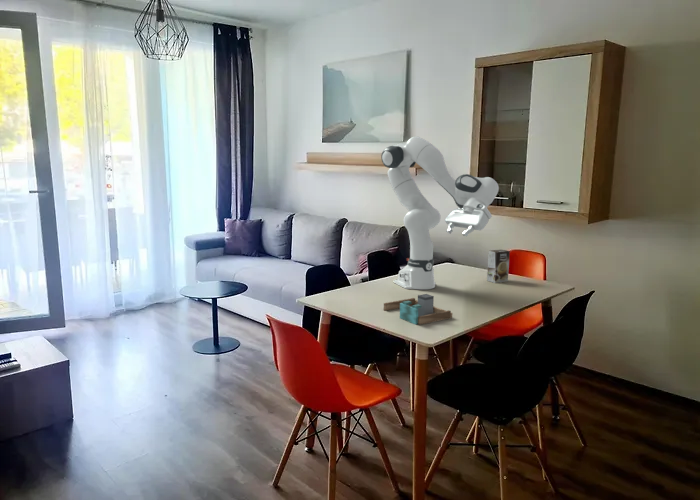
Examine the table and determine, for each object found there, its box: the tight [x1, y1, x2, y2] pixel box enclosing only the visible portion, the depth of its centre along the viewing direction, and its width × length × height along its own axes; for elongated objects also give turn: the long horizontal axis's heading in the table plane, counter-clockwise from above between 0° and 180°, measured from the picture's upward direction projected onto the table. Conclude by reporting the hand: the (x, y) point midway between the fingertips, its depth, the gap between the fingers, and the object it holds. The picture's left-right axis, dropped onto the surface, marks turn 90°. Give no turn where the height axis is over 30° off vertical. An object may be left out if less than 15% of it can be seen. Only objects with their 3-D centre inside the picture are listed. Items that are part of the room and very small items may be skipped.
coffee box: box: [486, 249, 511, 284], centre depth 269 cm, size 9×6×16 cm
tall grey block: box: [417, 293, 434, 317], centre depth 207 cm, size 4×4×9 cm
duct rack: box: [383, 297, 453, 326], centre depth 211 cm, size 23×18×7 cm
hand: (456, 233), depth 219 cm, fingers open, 8 cm apart
